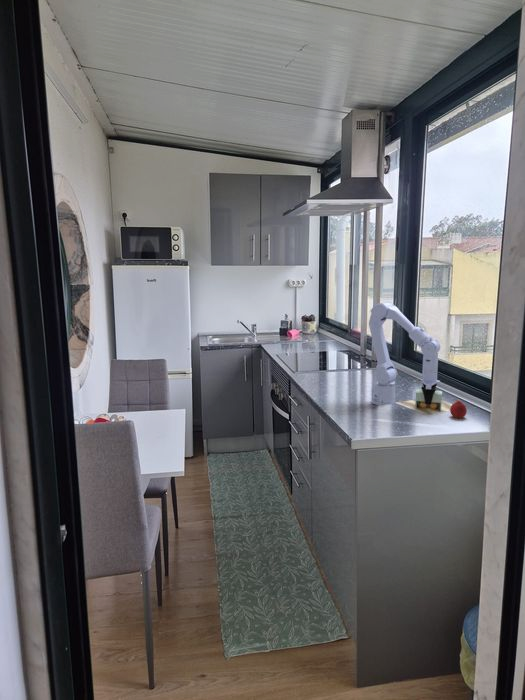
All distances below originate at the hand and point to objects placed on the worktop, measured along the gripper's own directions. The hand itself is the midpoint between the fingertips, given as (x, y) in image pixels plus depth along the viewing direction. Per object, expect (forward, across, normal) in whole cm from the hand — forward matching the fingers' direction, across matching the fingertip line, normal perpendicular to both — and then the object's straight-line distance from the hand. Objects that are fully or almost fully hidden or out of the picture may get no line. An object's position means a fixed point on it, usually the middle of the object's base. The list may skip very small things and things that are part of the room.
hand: (428, 402), depth 187 cm
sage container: (+3, 0, 0) cm, 3 cm away
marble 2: (+1, 0, -2) cm, 2 cm away
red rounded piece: (+4, -8, -11) cm, 15 cm away
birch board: (+4, +4, 0) cm, 6 cm away
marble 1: (+1, 0, +2) cm, 2 cm away
